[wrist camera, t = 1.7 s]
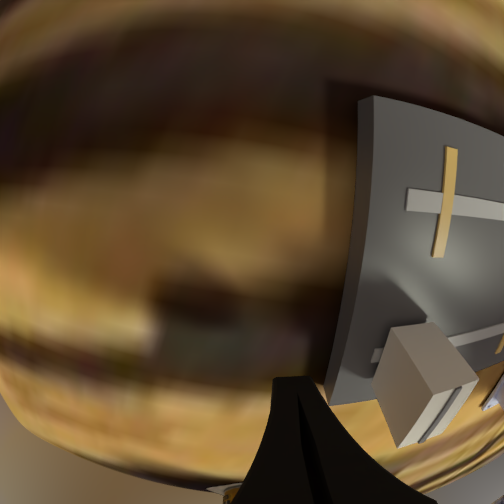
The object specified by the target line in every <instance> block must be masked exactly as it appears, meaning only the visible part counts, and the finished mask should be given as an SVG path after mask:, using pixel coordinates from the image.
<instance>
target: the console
mask: <svg viewBox="0 0 504 504" xmlns="http://www.w3.org/2000/svg"><path fill="white" fill-rule="evenodd" d="M429 322H434V323H435V324H436V325H437V326H438V328H439V329H440V330H441V331H442V332H443V333H444V335H445V336H446V337H447V338H448V339H449V341H450V342H451V343H452V344H453V345H454V347H455V348H456V349H457V350H458V352H459V353H460V354H461V355H462V357H463V358H464V359H465V360H466V362H467V363H468V364H469V366H470V367H471V368H472V370H473V371H474V372H477V371H479V370H482V369H485V368H487V367H490V366H492V365H494V364H497V363H499V362H502V361H504V136H501V135H499V134H497V133H495V132H493V131H490V130H488V129H485V128H483V127H481V126H478V125H476V124H473V123H470V122H468V121H465V120H462V119H459V118H457V117H454V116H451V115H448V114H445V113H442V112H438V111H435V110H432V109H428V108H425V107H421V106H418V105H414V104H410V103H406V102H402V101H398V100H394V99H389V98H384V97H380V96H375V95H373V96H370V97H368V98H365V99H362V100H360V101H358V144H357V169H356V185H355V199H354V211H353V221H352V231H351V240H350V248H349V256H348V263H347V270H346V277H345V283H344V290H343V296H342V302H341V307H340V313H339V318H338V323H337V329H336V333H335V338H334V343H333V348H332V352H331V357H330V361H329V365H328V370H327V374H326V378H325V382H324V386H323V387H324V390H325V394H326V398H327V402H328V405H329V406H333V405H341V404H349V403H356V402H362V401H368V400H373V399H377V397H376V395H375V393H374V390H373V388H372V386H371V383H372V380H373V378H374V375H375V373H376V370H377V367H378V364H379V362H380V359H381V356H382V353H383V350H384V347H385V344H386V341H387V338H388V335H389V332H390V329H391V327H400V326H408V325H415V324H422V323H429Z"/></svg>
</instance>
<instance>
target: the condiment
mask: <svg viewBox="0 0 504 504" xmlns="http://www.w3.org/2000/svg"><path fill="white" fill-rule="evenodd" d="M241 485H242V483H236V484H230V485H225V486H218V487H211V488H207V490H209V491H212V492H215V493H218V494H221V495H223V496H224V497H223V504H230V503H231V501H232V500H233V498H234V497H235V495H236V493H237V492H238V490H239V488H240V487H241Z"/></svg>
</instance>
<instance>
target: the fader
mask: <svg viewBox="0 0 504 504" xmlns="http://www.w3.org/2000/svg"><path fill="white" fill-rule="evenodd" d="M478 381H479V377H478V376H477V375H476V373H475V372H474V371H473V370H472V368H471V367H470V366H469V364H468V363H467V362H466V360H465V359H464V358H463V357H462V355H461V354H460V353H459V352H458V350H457V349H456V348H455V347H454V345H453V344H452V343H451V342H450V341H449V339H448V338H447V337H446V336H445V335H444V333H443V332H442V331H441V330H440V329H439V328H438V326H437V325H436V324H435V323H434V322H429V323H422V324H415V325H408V326H400V327H391V329H390V332H389V335H388V338H387V341H386V344H385V347H384V350H383V353H382V356H381V359H380V362H379V364H378V367H377V370H376V373H375V375H374V378H373V380H372V383H371V386H372V388H373V390H374V393H375V395H376V397H377V400H378V402H379V405H380V407H381V409H382V412H383V414H384V417H385V419H386V422H387V424H388V427H389V429H390V432H391V434H392V437H393V439H394V442H395V445H396V447H397V448H401V447H404V446H407V445H411V444H414V443H417V442H418V444H420V443H422V442H424V441H425V440H426V439H428V438H431V437H434V436H436V435H439V434H442V432H443V431H444V430H445V429H446V427H447V426H448V425H449V423H450V422H451V421H452V419H453V418H454V417H455V415H456V414H457V413H458V411H459V410H460V408H461V407H462V405H463V404H464V402H465V401H466V400H467V398H468V396H469V395H470V393H471V392H472V390H473V389H474V387H475V386H476V384H477V382H478Z"/></svg>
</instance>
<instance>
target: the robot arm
mask: <svg viewBox="0 0 504 504" xmlns="http://www.w3.org/2000/svg"><path fill="white" fill-rule="evenodd" d="M498 403H499V404H500V406H501V407H502V409H503V410H504V374H503V376H502V378H501V379H500V381H499V382H498V384H497V386H496V387H495V389H494V390H493V392H492V393H491V395H490V396H489V398H488V399H487V401H486V402H485V403H484V405H483V406H482V408H481V409H482V411H485V410H487V409H489V408H490V407H492V406H494V405H496V404H498ZM270 409H271V410H270V414H269V418H268V422H267V426H266V429H265V432H264V435H263V438H262V441H261V444H260V447H259V449H258V452H257V454H256V456H255V459H254V461H253V463H252V465H251V467H250V470H249V471H248V473H247V475H246V477H245V479H244V481H243V483H242V485H241V487H240V488H239V490H238V492H237V493H236V495H235V497H234V498H233V500H232V501H231V503H230V504H438V503H437V501H435V500H434V499H431V498H429V497H427V496H425V495H423V494H422V493H420V492H418V491H416V490H414V489H413V488H411V487H410V486H408V485H406V484H405V483H403V482H402V481H400V480H399V479H398V478H396V477H395V476H394V475H392V474H391V473H390V472H388V471H387V470H386V469H384V468H383V467H382V466H381V465H379V464H378V463H377V462H376V461H375V460H374V459H373V458H372V457H371V456H370V455H369V454H368V453H366V452H365V451H364V450H363V449H362V448H361V446H360V445H359V444H358V443H357V442H356V441H355V440H354V439H353V438H352V436H351V435H350V434H349V433H348V432H347V430H346V429H345V428H344V427H343V425H342V424H341V423H340V422H339V420H338V419H337V417H336V416H335V415H334V413H333V412H332V410H331V409H330V408H329V406H328V405H327V403H326V401H325V400H324V398H323V397H322V395H321V393H320V392H319V390H318V388H317V387H316V385H315V383H314V381H313V379H312V377H310V376H294V377H276V378H274V379H273V383H272V396H271V408H270ZM492 504H504V495H503V496H502V497H500V498H499V499H497V500H496V501H495V502H493V503H492Z"/></svg>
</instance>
